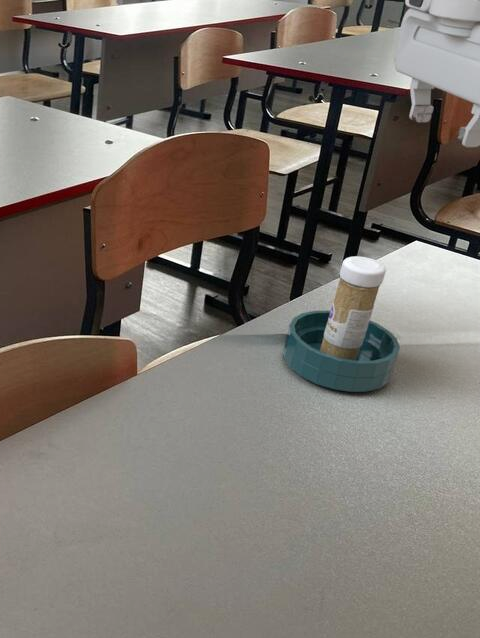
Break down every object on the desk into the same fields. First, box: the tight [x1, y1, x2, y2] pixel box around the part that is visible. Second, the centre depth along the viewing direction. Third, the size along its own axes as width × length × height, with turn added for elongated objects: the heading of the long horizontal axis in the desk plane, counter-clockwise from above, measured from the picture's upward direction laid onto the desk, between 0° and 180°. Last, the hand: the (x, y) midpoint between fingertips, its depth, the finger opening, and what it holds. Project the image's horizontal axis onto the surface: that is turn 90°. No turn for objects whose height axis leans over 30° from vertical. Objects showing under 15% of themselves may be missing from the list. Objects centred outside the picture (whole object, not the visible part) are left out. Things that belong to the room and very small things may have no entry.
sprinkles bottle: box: [320, 255, 387, 360], centre depth 89 cm, size 5×5×14 cm
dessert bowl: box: [282, 309, 401, 393], centre depth 92 cm, size 12×12×4 cm
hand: (442, 132), depth 84 cm, fingers open, 8 cm apart
